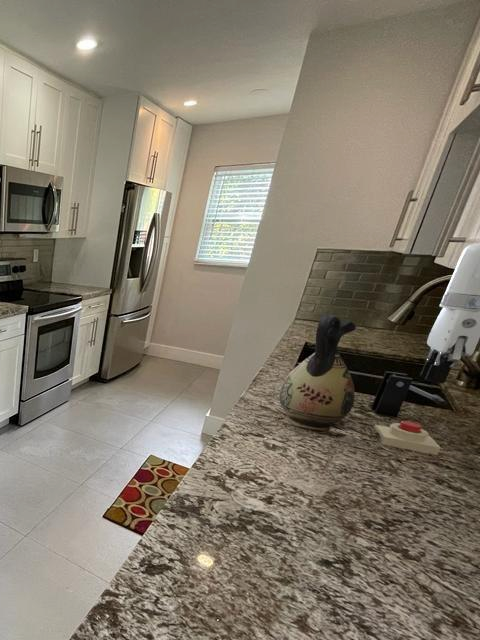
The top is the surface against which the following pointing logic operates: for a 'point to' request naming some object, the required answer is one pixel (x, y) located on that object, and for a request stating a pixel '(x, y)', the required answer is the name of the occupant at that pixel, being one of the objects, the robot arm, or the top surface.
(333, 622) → the top surface
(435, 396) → the lever
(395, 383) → the bracket
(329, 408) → the ceramic jug
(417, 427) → the button
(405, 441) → the control block
